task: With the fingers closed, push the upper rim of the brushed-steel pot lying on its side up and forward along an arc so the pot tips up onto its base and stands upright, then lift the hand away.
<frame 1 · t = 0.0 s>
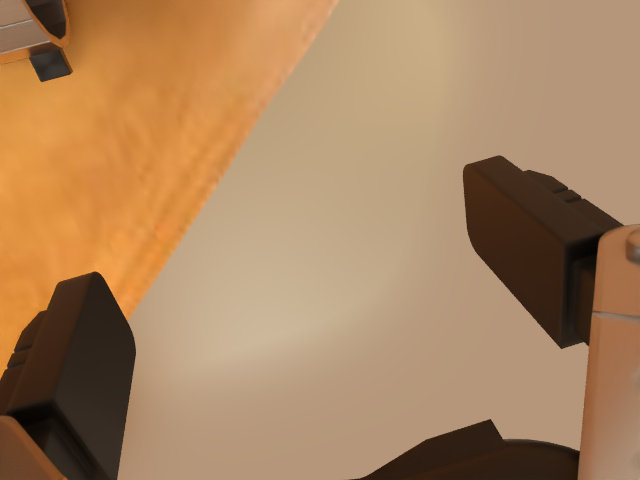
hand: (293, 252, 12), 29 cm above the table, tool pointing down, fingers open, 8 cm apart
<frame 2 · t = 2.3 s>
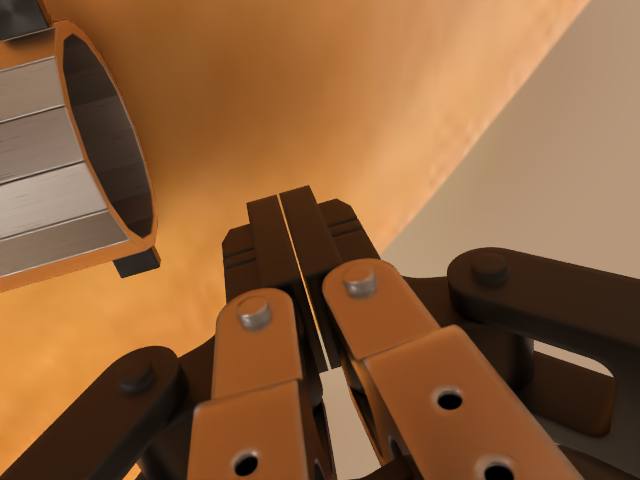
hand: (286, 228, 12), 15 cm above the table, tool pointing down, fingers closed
pot: (115, 140, 21), point 4 cm above the table
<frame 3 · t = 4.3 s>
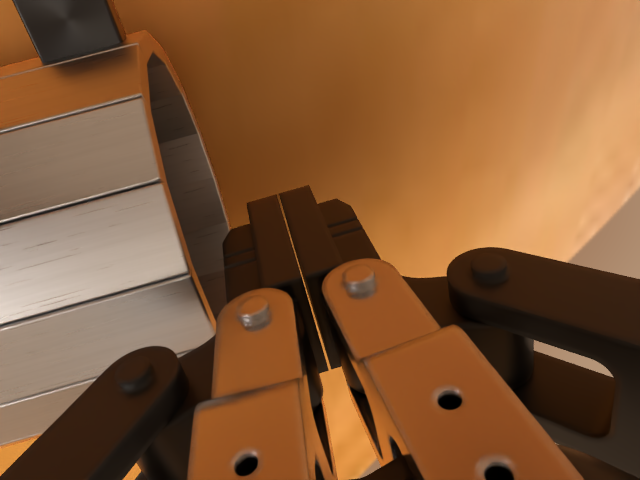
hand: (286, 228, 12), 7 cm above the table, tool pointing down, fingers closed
pot: (206, 208, 14), point 5 cm above the table, touching gripper
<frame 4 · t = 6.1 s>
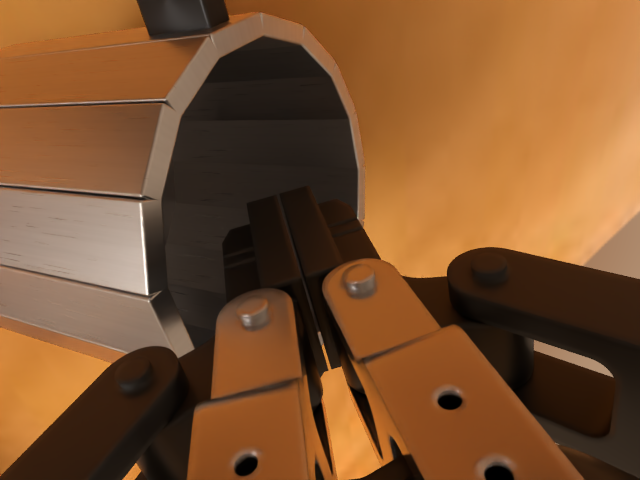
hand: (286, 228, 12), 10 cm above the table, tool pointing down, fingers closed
pot: (287, 212, 13), point 9 cm above the table, tilted 39°
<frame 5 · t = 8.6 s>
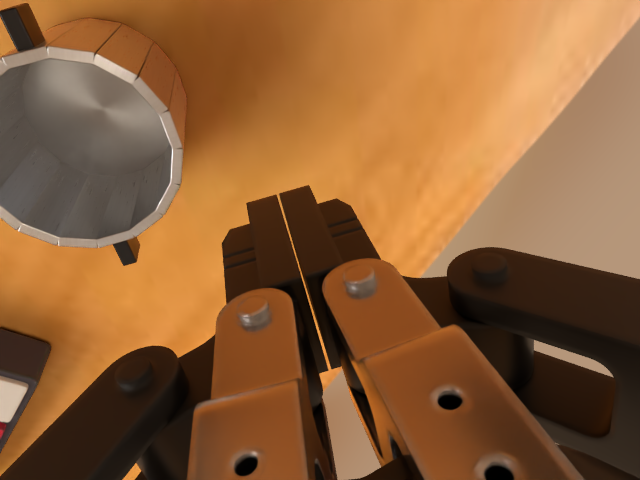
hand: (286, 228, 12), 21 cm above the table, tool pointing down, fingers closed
pot: (74, 157, 23), point 9 cm above the table, tilted 90°
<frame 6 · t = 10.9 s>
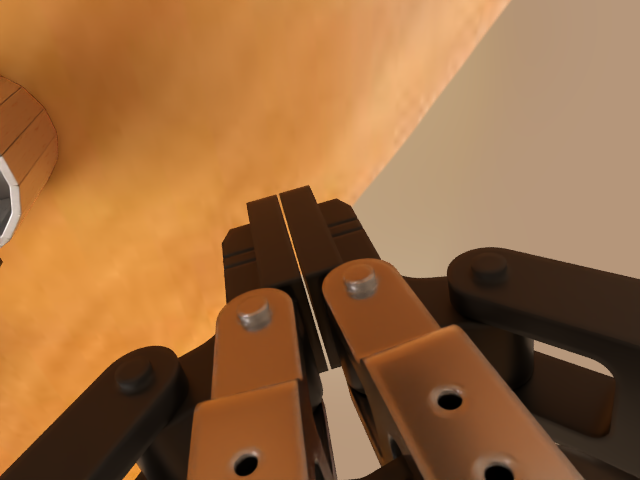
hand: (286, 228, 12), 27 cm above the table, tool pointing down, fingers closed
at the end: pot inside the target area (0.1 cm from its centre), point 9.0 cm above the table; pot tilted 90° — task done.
